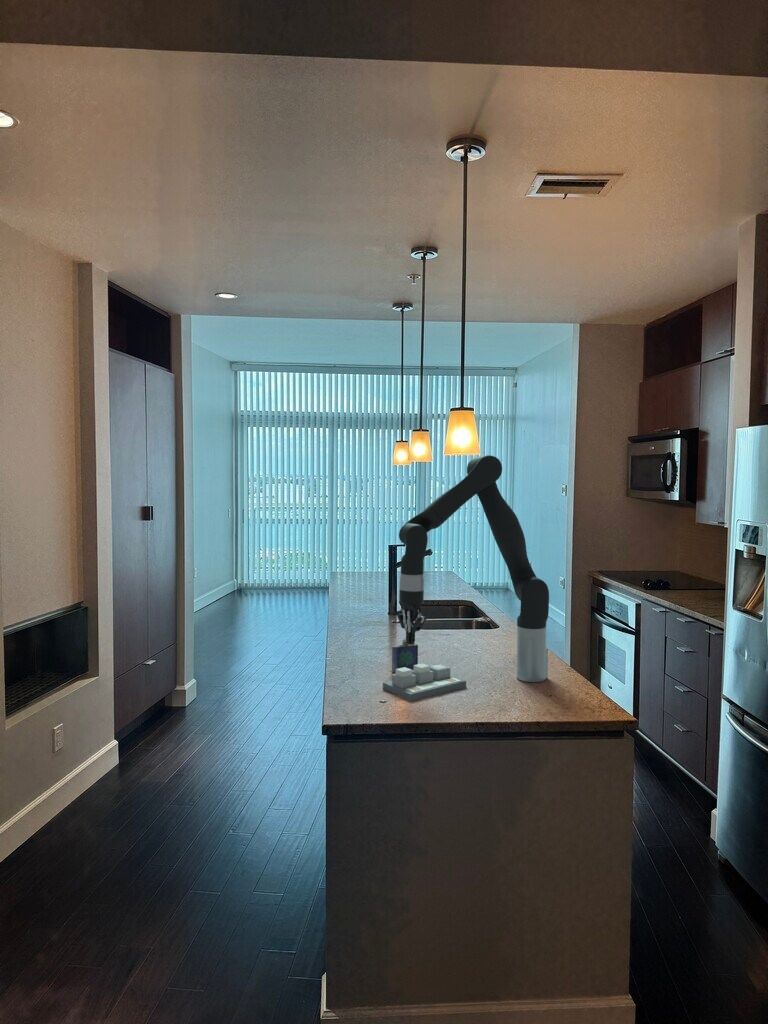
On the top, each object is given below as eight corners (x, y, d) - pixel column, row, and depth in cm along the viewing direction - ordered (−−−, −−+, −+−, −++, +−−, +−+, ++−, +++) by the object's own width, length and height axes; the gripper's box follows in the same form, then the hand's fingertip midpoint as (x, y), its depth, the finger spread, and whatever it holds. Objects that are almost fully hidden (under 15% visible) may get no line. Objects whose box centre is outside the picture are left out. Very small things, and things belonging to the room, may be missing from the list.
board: (437, 676, 221) (437, 661, 221) (466, 687, 210) (466, 671, 210) (382, 688, 208) (382, 672, 208) (410, 701, 197) (410, 684, 197)
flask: (393, 673, 224) (393, 641, 224) (390, 671, 227) (390, 639, 227) (419, 671, 227) (419, 639, 227) (415, 668, 230) (415, 637, 230)
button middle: (422, 672, 213) (422, 663, 212) (429, 675, 210) (429, 665, 209) (413, 674, 210) (413, 665, 210) (420, 677, 208) (420, 667, 207)
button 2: (439, 673, 217) (439, 664, 217) (446, 676, 214) (446, 667, 214) (430, 675, 215) (430, 666, 214) (438, 678, 212) (438, 669, 212)
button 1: (404, 676, 209) (404, 667, 208) (412, 679, 206) (412, 669, 205) (395, 678, 206) (395, 669, 206) (402, 681, 203) (402, 671, 203)
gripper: (434, 590, 204) (433, 646, 205) (408, 584, 215) (407, 637, 216) (414, 592, 200) (413, 650, 200) (389, 585, 210) (388, 640, 211)
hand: (410, 643), depth 208 cm, fingers closed
